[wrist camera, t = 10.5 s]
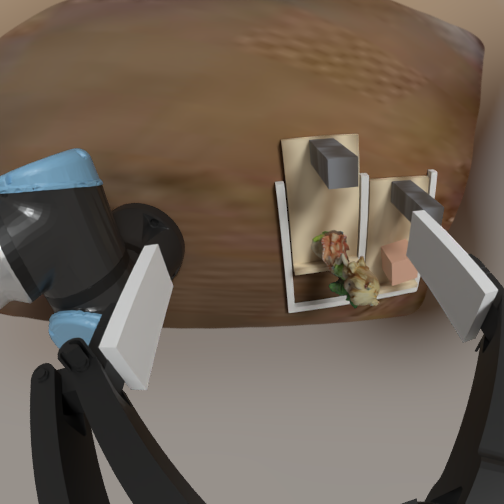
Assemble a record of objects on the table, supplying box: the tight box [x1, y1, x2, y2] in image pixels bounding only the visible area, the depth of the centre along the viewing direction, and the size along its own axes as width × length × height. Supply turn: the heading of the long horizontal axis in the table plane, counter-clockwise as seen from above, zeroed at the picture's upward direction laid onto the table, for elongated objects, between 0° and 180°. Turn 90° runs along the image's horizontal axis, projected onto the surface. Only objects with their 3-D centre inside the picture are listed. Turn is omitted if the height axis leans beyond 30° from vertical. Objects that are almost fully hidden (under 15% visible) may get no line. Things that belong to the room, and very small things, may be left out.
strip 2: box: [364, 176, 444, 294], centre depth 43 cm, size 11×22×11 cm, turn 8°
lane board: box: [275, 169, 437, 313], centre depth 48 cm, size 27×25×1 cm
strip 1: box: [281, 134, 359, 275], centre depth 40 cm, size 11×22×11 cm, turn 8°
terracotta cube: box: [381, 239, 418, 286], centre depth 46 cm, size 5×5×5 cm
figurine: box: [311, 230, 380, 308], centre depth 42 cm, size 9×8×15 cm
